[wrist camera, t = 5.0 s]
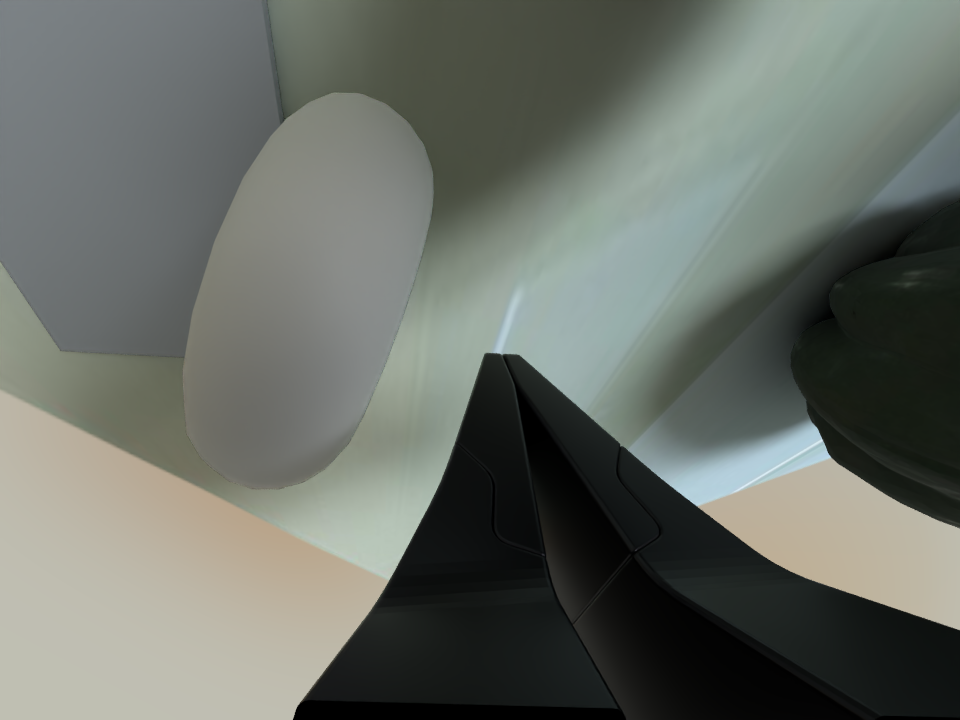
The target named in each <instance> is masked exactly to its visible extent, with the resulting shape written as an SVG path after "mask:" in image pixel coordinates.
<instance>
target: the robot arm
mask: <svg viewBox="0 0 960 720" xmlns="http://www.w3.org/2000/svg"><path fill="white" fill-rule="evenodd" d="M293 720H960V630H957V629H954V628H951V627H948V626H945V625H942V624H940V623H936V622H933V621H931V620H928V619H925V618H922V617H919V616H916V615H913V614H910V613H907V612H904V611H901V610H898V609H895V608H892V607H889V606H886V605H883V604H880V603H877V602H874V601H871V600H868V599H865V598H862V597H859V596H856V595H853V594H850V593H847V592H844V591H841V590H839V589H836V588H833V587H829V586H827V585H824V584H821V583H818V582H815V581H812V580H809V579H806V578H804V577H802V576H800V575H797V574H795V573H793V572H790V571H788V570H786V569H785V568H783V567H781V566H779V565H777V564H775V563H773V562H772V561H770V560H768V559H767V558H765V557H764V556H762V555H761V554H759V553H758V552H756V551H755V550H753V549H752V548H751V547H749V546H748V545H747V544H745V543H744V542H743V541H741V540H740V539H739V538H738V537H736V536H735V535H734V534H732V533H731V532H730V531H728V530H727V529H726V528H724V527H723V526H722V525H721V524H719V523H718V522H717V521H715V520H714V519H713V518H711V517H710V516H709V515H707V514H706V513H705V512H703V511H702V510H701V509H699V508H698V507H697V506H696V505H694V504H693V503H692V502H690V501H689V500H688V499H686V498H685V497H684V496H682V495H681V494H680V493H679V492H677V491H676V490H675V489H674V488H672V487H671V486H670V485H668V484H667V483H666V482H665V481H663V480H662V479H661V478H660V477H658V476H657V475H656V474H655V473H654V472H652V471H651V470H650V469H649V468H648V467H647V466H645V465H644V464H643V463H642V462H641V461H639V460H638V459H637V458H636V457H635V456H634V455H633V454H631V453H630V452H629V451H628V450H627V449H626V448H625V447H623V446H621V447H620V443H619V442H618V441H616V440H615V439H614V438H613V437H612V436H611V435H610V434H608V433H607V432H606V431H605V430H604V429H603V428H602V427H601V426H599V425H598V424H597V423H596V422H595V421H594V420H593V419H591V418H590V417H589V416H588V415H587V414H586V413H585V412H583V411H582V410H581V409H580V408H579V407H578V406H577V405H576V404H574V403H573V402H572V401H571V400H570V399H569V398H568V397H566V396H565V395H564V394H563V393H562V392H561V391H560V390H558V389H557V388H556V387H555V386H554V385H553V384H552V383H551V382H549V381H548V380H547V379H546V378H545V377H544V376H543V375H541V374H540V373H539V372H538V371H537V370H536V369H535V368H534V367H532V366H531V365H530V364H529V363H528V362H527V361H526V360H524V359H523V358H522V357H521V356H520V355H517V354H503V355H501V354H498V353H485V354H484V357H483V360H482V363H481V366H480V369H479V372H478V375H477V378H476V381H475V384H474V387H473V390H472V393H471V396H470V399H469V402H468V405H467V408H466V411H465V414H464V417H463V420H462V423H461V426H460V429H459V432H458V435H457V438H456V441H455V445H454V447H453V450H452V453H451V456H450V459H449V462H448V464H447V467H446V469H445V472H444V475H443V477H442V480H441V482H440V484H439V486H438V488H437V490H436V493H435V495H434V497H433V499H432V501H431V503H430V505H429V507H428V509H427V511H426V513H425V515H424V516H423V518H422V520H421V522H420V524H419V526H418V528H417V530H416V532H415V534H414V535H413V537H412V539H411V541H410V543H409V545H408V547H407V549H406V551H405V553H404V554H403V556H402V558H401V560H400V562H399V564H398V566H397V568H396V570H395V571H394V573H393V575H392V577H391V579H390V580H389V582H388V584H387V586H386V587H385V589H384V591H383V593H382V594H381V595H380V597H379V599H378V600H377V602H376V603H375V605H374V606H373V608H372V610H371V611H370V612H369V614H368V615H367V616H366V618H365V619H364V620H363V621H362V623H361V624H360V625H359V627H358V628H357V629H356V631H355V632H354V633H353V635H352V636H351V637H350V639H349V640H348V641H347V642H346V644H345V645H344V646H343V648H342V649H341V650H340V652H339V653H338V654H337V656H336V657H335V658H334V660H333V661H332V662H331V663H330V665H329V666H328V667H327V668H326V670H325V671H324V672H323V674H322V675H321V676H320V678H319V679H318V680H317V681H316V683H315V684H314V685H313V687H312V688H311V689H310V691H309V692H308V693H307V695H306V696H305V697H304V699H303V700H302V701H301V702H300V704H299V705H298V707H297V709H296V712H295V715H294V718H293Z"/></svg>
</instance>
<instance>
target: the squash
mask: <svg viewBox="0 0 960 720" xmlns="http://www.w3.org/2000/svg"><path fill="white" fill-rule="evenodd" d="M830 306H831V309H832V312H833V314H834V315H835V317H836V318H832V319H828V320H825V321H822V322H820V323H817V324H815V325H813V326H811V327H810V328H808V329H807V330H805V331H804V332H803V333H802V334H801V335H800V336H799V338H798V340H797V341H796V343H795V345H794V347H793V350H792V352H791V369H792V373H793V377H794V379H795V381H796V383H797V385H798V387H799V389H800V391H801V393H802V394H803V396H804V397H805V399H806V400H807V401H806V404H807V412H808V414H809V416H810V419H811V421H812V423H813V424H814V425H815V426H816V427H817V428H818V430H819V433H820V435H821V437H822V439H823V441H824V443H825V446H826V448H827V451H828V453H829V455H830V456H831V457H832V459H834V460H835V461H836V462H837V463H838V464H839V465H841V466H843V467H845V468H846V469H847V470H849V471H850V472H852V473H854V474H855V475H857V476H858V477H860V478H861V479H863V480H864V481H866V482H867V483H869V484H870V485H872V486H874V487H875V488H877V489H878V490H880V491H881V492H883V493H884V494H886V495H888V496H889V497H891V498H893V499H895V500H896V501H898V502H900V503H902V504H904V505H906V506H908V507H910V508H913V509H915V510H917V511H919V512H921V513H923V514H925V515H928V516H930V517H932V518H934V519H936V520H939V521H942V522H944V523H947V524H949V525H952V526H955V527H957V528H960V201H959V202H957V203H954V204H952V205H950V206H948V207H945V208H943V209H942V210H941V211H939V212H938V213H937V214H935V215H934V216H933V217H931V218H930V219H929V220H927V221H926V222H925V223H924V224H922V225H921V226H920V227H918V228H917V229H916V230H914V231H913V232H912V233H910V234H909V235H908V236H907V238H906V239H905V240H904V241H903V242H902V244H901V245H900V247H899V248H898V250H897V251H896V254H895V258H890V259H886V260H882V261H878V262H875V263H872V264H869V265H866V266H863V267H860V268H858V269H855V270H853V271H851V272H850V273H849V274H847V275H845V276H844V277H842V278H840V279H838V280H837V282H836V283H835V284H834V286H833V288H832V289H831V291H830Z"/></svg>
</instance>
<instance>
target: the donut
mask: <svg viewBox="0 0 960 720" xmlns="http://www.w3.org/2000/svg"><path fill="white" fill-rule="evenodd" d="M433 198H434V186H433V170H432V167H431V164H430V161H429V158H428V155H427V152H426V149H425V146H424V144H423V143H422V141H421V140H420V138H419V137H418V135H417V134H416V133H415V131H414V130H413V128H412V127H411V125H410V124H409V122H408V121H407V120H405V119H404V118H403V117H402V116H400V115H399V114H398V113H397V112H396V111H394V110H393V109H392V108H391V107H389V106H388V105H387V104H386V103H383V102H381V101H378V100H376V99H373V98H371V97H368V96H366V95H363V94H361V93H335V92H333V93H330V94H328V95H325V96H323V97H320V98H318V99H315V100H313V101H310V102H308V103H307V104H306V105H304V106H303V107H302V108H300V109H299V110H297V111H296V112H295V113H293V114H292V115H291V116H289V117H288V118H287V119H286V120H285V121H284V122H283V123H282V124H281V125H280V126H279V128H278V129H277V130H276V131H275V132H274V133H273V134H272V135H271V136H270V138H269V139H268V141H267V142H266V144H265V145H264V147H263V148H262V150H261V151H260V153H259V155H258V156H257V158H256V159H255V161H254V162H253V164H252V165H251V167H250V168H249V170H248V171H247V173H246V174H245V176H244V177H243V179H242V181H241V184H240V186H239V188H238V190H237V192H236V195H235V197H234V199H233V201H232V203H231V206H230V208H229V210H228V212H227V215H226V217H225V219H224V221H223V223H222V226H221V228H220V230H219V232H218V235H217V237H216V239H215V241H214V244H213V248H212V251H211V254H210V257H209V260H208V264H207V267H206V270H205V273H204V276H203V280H202V283H201V286H200V289H199V293H198V296H197V299H196V302H195V305H194V309H193V312H192V317H191V323H190V329H189V335H188V341H187V347H186V353H185V359H184V365H183V371H182V375H183V394H184V411H185V423H186V434H187V436H188V437H189V439H190V441H191V443H192V444H193V446H194V448H195V449H196V451H197V453H198V455H199V456H200V457H201V458H202V459H203V460H204V461H205V462H206V463H207V464H208V465H209V466H210V467H211V468H212V469H214V470H215V471H216V472H218V473H219V474H220V475H222V476H223V477H224V478H226V479H227V480H228V481H230V482H233V483H236V484H239V485H242V486H246V487H249V488H252V489H281V488H285V487H288V486H292V485H295V484H299V483H302V482H305V481H306V480H308V479H310V478H311V477H313V476H315V475H316V474H318V473H319V472H321V471H323V470H324V469H325V468H326V467H327V466H328V465H329V464H330V463H331V462H332V461H333V460H334V459H335V458H336V457H337V456H338V455H339V454H340V453H341V452H342V450H343V449H344V448H345V447H346V446H347V445H348V444H349V442H350V440H351V438H352V436H353V435H354V433H355V431H356V429H357V427H358V425H359V423H360V422H361V420H362V418H363V416H364V414H365V411H366V409H367V406H368V404H369V402H370V399H371V397H372V395H373V392H374V390H375V388H376V385H377V383H378V381H379V378H380V376H381V374H382V371H383V369H384V367H385V364H386V362H387V359H388V356H389V354H390V351H391V348H392V345H393V343H394V340H395V337H396V334H397V332H398V329H399V326H400V324H401V321H402V318H403V315H404V312H405V309H406V306H407V303H408V299H409V296H410V293H411V290H412V287H413V284H414V280H415V277H416V274H417V271H418V267H419V264H420V261H421V257H422V253H423V249H424V245H425V241H426V237H427V233H428V229H429V225H430V221H431V217H432V208H433Z"/></svg>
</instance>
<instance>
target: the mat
mask: <svg viewBox="0 0 960 720" xmlns="http://www.w3.org/2000/svg"><path fill="white" fill-rule="evenodd" d="M283 122H284V118H283V111H282V104H281V97H280V90H279V83H278V76H277V69H276V62H275V55H274V48H273V41H272V34H271V27H270V20H269V13H268V6H267V0H0V261H1V263H2V264H3V266H4V267H5V269H6V270H7V272H8V273H9V275H10V276H11V278H12V279H13V281H14V282H15V284H16V285H17V287H18V288H19V290H20V291H21V293H22V294H23V296H24V297H25V299H26V300H27V302H28V303H29V305H30V306H31V308H32V309H33V311H34V312H35V314H36V315H37V317H38V318H39V320H40V321H41V322H42V324H43V325H44V327H45V328H46V330H47V331H48V333H49V334H50V336H51V337H52V339H53V340H54V342H55V343H56V345H57V346H58V348H59V349H60V351H71V352H90V353H109V354H128V355H146V356H165V357H184V358H185V353H186V347H187V341H188V335H189V329H190V323H191V317H192V312H193V309H194V305H195V302H196V299H197V296H198V293H199V289H200V286H201V283H202V280H203V276H204V273H205V270H206V267H207V264H208V260H209V257H210V254H211V251H212V248H213V244H214V241H215V239H216V237H217V235H218V232H219V230H220V228H221V226H222V223H223V221H224V219H225V217H226V215H227V212H228V210H229V208H230V206H231V203H232V201H233V199H234V197H235V195H236V192H237V190H238V188H239V186H240V184H241V181H242V179H243V177H244V176H245V174H246V173H247V171H248V170H249V168H250V167H251V165H252V164H253V162H254V161H255V159H256V158H257V156H258V155H259V153H260V151H261V150H262V148H263V147H264V145H265V144H266V142H267V141H268V139H269V138H270V136H271V135H272V134H273V133H274V132H275V131H276V130H277V129H278V128H279V126H280V125H281V124H282V123H283Z"/></svg>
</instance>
